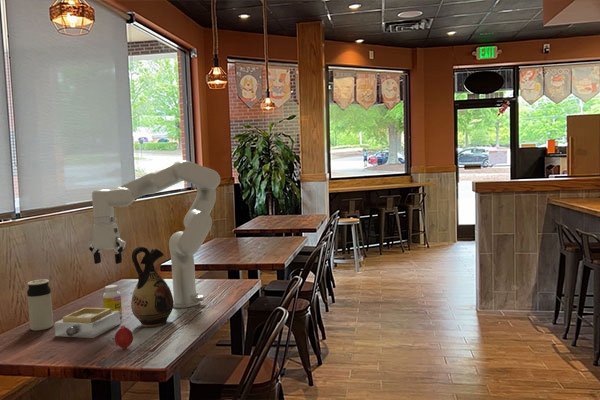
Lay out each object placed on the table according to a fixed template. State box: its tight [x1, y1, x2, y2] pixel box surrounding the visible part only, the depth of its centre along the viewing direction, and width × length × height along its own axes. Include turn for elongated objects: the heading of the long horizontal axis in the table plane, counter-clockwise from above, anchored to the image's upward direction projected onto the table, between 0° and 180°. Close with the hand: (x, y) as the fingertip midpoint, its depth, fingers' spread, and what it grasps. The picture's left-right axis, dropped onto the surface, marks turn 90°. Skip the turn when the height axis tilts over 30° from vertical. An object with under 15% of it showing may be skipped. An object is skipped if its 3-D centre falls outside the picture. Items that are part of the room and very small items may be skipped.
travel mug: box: [26, 278, 54, 332], centre depth 192 cm, size 8×8×18 cm
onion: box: [114, 324, 134, 350], centre depth 165 cm, size 6×6×8 cm
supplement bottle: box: [102, 284, 123, 318], centre depth 201 cm, size 7×7×13 cm
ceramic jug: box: [130, 246, 174, 328], centre depth 189 cm, size 17×15×30 cm
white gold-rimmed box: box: [53, 307, 121, 339], centre depth 186 cm, size 16×18×6 cm
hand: (108, 263), depth 200 cm, fingers open, 9 cm apart
